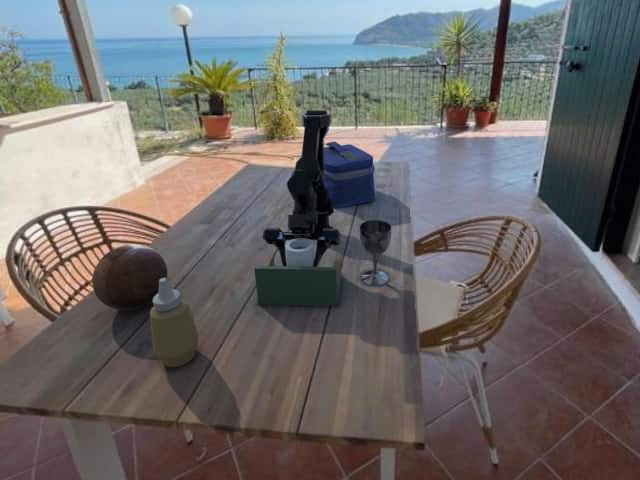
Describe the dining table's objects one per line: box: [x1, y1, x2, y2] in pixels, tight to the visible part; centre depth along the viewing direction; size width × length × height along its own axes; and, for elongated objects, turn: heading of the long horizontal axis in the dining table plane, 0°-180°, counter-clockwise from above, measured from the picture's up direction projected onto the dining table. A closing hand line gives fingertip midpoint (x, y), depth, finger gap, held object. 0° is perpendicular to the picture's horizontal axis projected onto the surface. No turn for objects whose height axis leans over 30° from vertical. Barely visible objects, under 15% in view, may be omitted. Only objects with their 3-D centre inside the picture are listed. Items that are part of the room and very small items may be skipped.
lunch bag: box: [324, 140, 376, 208], centre depth 157 cm, size 31×21×20 cm
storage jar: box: [285, 238, 315, 267], centre depth 95 cm, size 7×7×13 cm
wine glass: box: [359, 219, 392, 287], centre depth 100 cm, size 8×8×15 cm
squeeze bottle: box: [149, 278, 200, 368], centre depth 74 cm, size 8×8×18 cm
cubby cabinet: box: [254, 252, 343, 307], centre depth 96 cm, size 13×19×10 cm
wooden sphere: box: [91, 243, 168, 311], centre depth 90 cm, size 15×15×15 cm
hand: (299, 270), depth 94 cm, fingers closed on storage jar, 7 cm apart
